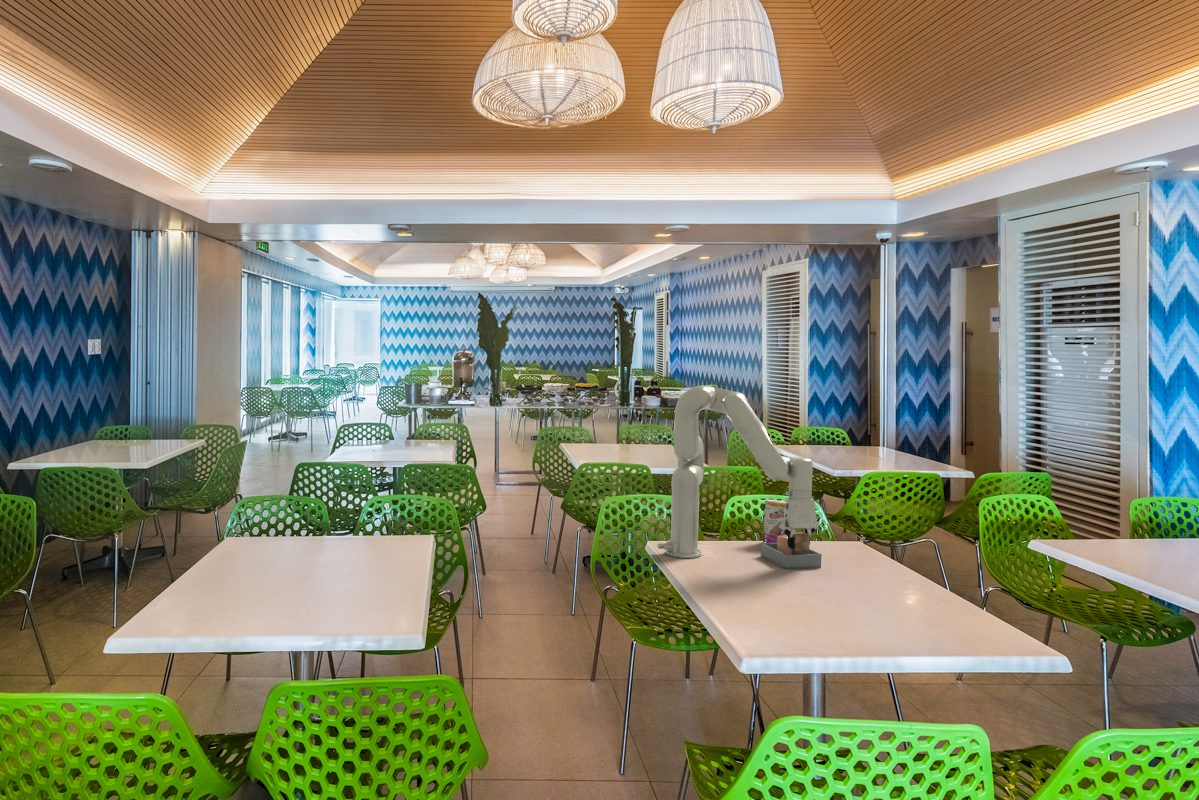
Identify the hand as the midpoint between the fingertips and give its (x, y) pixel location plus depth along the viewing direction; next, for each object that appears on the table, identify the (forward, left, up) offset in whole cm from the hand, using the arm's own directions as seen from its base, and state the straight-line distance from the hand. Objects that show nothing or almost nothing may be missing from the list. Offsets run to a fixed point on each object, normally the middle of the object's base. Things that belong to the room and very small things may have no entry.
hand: (798, 547), depth 256 cm
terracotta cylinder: (0, +9, -6) cm, 11 cm away
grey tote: (0, +5, -6) cm, 8 cm away
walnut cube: (0, 0, -1) cm, 1 cm away
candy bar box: (+9, +29, -6) cm, 31 cm away
